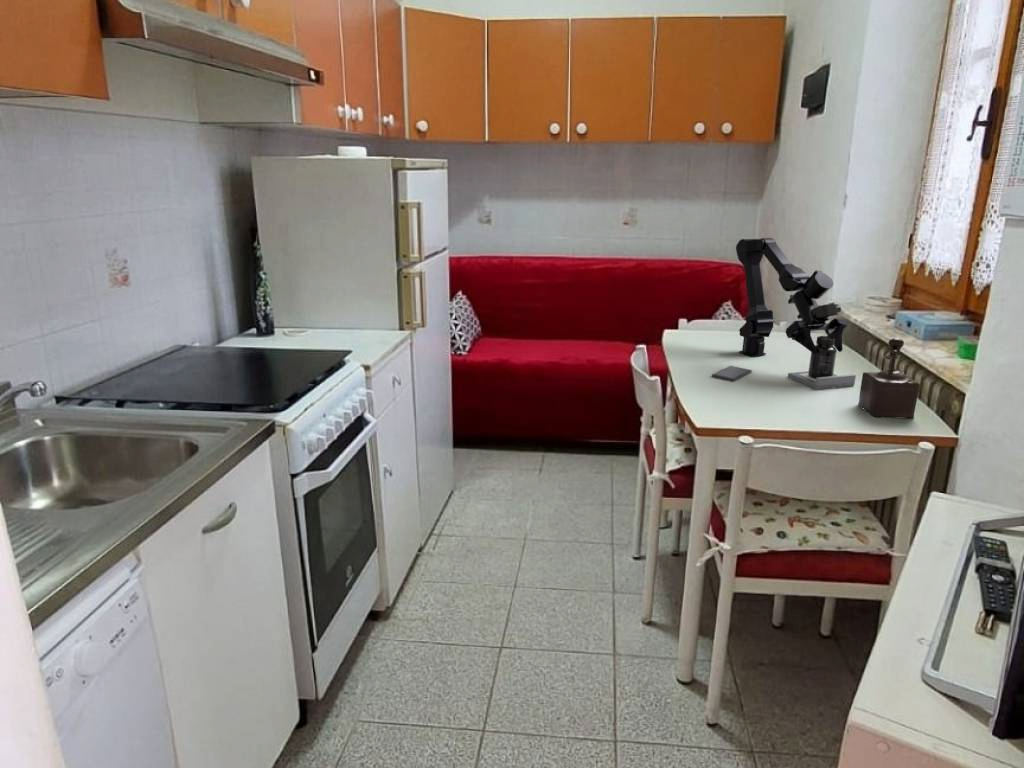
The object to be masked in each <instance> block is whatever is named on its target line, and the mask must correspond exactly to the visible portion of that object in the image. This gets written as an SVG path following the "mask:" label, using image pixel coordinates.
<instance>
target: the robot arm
mask: <svg viewBox="0 0 1024 768" xmlns="http://www.w3.org/2000/svg"><path fill="white" fill-rule="evenodd" d="M735 250H736V256H737V260H738V261H739V262H740V263H741V265H742V266H743V268H744V275H745V282H746V290H747V298H748V306H749V307H748V308H749V309H748V311H747V313H746V316H745V323H744V324H743V325H742V326H741V327H740V328H739V329H738V331H739V336H741V337H743V340H742V349H741V350H738V353H740V354H743V355H745V356H748V357H752V358H753V357H760V356H766V355H767V353H766V352H765V344H766V343H765V338H769V337H770V335H771V333H772V330H773V328H774V323H775V319H774V312H773V310H772V309H768V307H766V302H765V295H764V286H763V279H762V271H761V262H762V259H763V257H765V258H766V260H767V261H768V262H769V264H771V266H772V268H773V269H774V270H775V271H776V273H777V274H778V282H779V284H780V286H781V288H782V289H783V290H784V291H785V292H795V293H794V294H790V296H789V298H788V300H787V304H789V305H791V304H792V305H793V304H794V305H795V307H796V310H797V312H798V314H797V315H796V317H797V320H794V321H793V322H792V323H791V324H790V325H788V327H787V328H786V330H785V334H786V338H788V339H792V341H796V342H797V343H799V345H802V346H803V347H804V348H806V350H808V351H809V352H810V353H811V352H812V353H813V354H816V353H817V350H816V347H815V345H816V344H815V343H814V340H813V338H812V335H811V333H812V332H815V331H816V332H817V331H819V332H820V331H824V332H825V334H826V335H827V336H828V337H833V338H835V341H834V345H833V347H835V348H836V350H837V351H838V352H839V353H840V352H843V349H844V348H843V332H844V330H845V329H846V328H847V327H849V325H850V323H849V322H848V319H847V318H845V317H836V318H833V319H831V320H830V317H832V316H838V314H839V313H840V312H841V311H842V306H841V305H840V303H839V302H838V301H833V302H829V304H823V305H822V304H821V305H820V304H818V303H817V300H819V299H821V298H822V297H823V296H824V295H825V294H826V293H827V292H828V291H829V290H831V288H833V286H834V281H833V278H832V277H830V276H829V275H827V274H826V273H824V272H823V271H822V269H819V270H818V269H816V270H814V272H813V273H812V274H811V275H810V276H809V275H808V273H807V272H805V271H804V270H803V269H802V268H800V267H798V266H796V265H794V264H793V263H792V261H790V259H789V258H788V257H787V256H786V254H785V253H784V251H783V250H782V249H781V248H780V247H779V245H778V244H777V242H776V239H774V238H773V237H772V238H771V237H763V238H762V237H761V238H741V239H740V240H739V241H738V243H737V244H736V246H735ZM829 320H830V321H829ZM828 321H829V322H828ZM826 322H827V323H826Z"/></svg>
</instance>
